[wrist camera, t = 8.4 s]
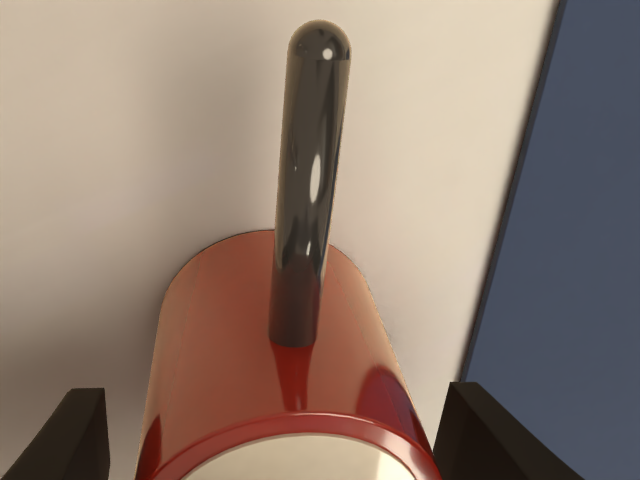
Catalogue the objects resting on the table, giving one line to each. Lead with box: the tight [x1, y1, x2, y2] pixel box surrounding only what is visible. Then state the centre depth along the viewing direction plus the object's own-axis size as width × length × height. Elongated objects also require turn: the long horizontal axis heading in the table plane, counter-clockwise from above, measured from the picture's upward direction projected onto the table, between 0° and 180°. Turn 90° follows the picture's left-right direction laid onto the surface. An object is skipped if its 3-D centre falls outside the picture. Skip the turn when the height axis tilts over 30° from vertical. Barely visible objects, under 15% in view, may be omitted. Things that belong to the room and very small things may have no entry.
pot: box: [134, 20, 443, 480], centre depth 12 cm, size 11×5×6 cm, turn 174°
